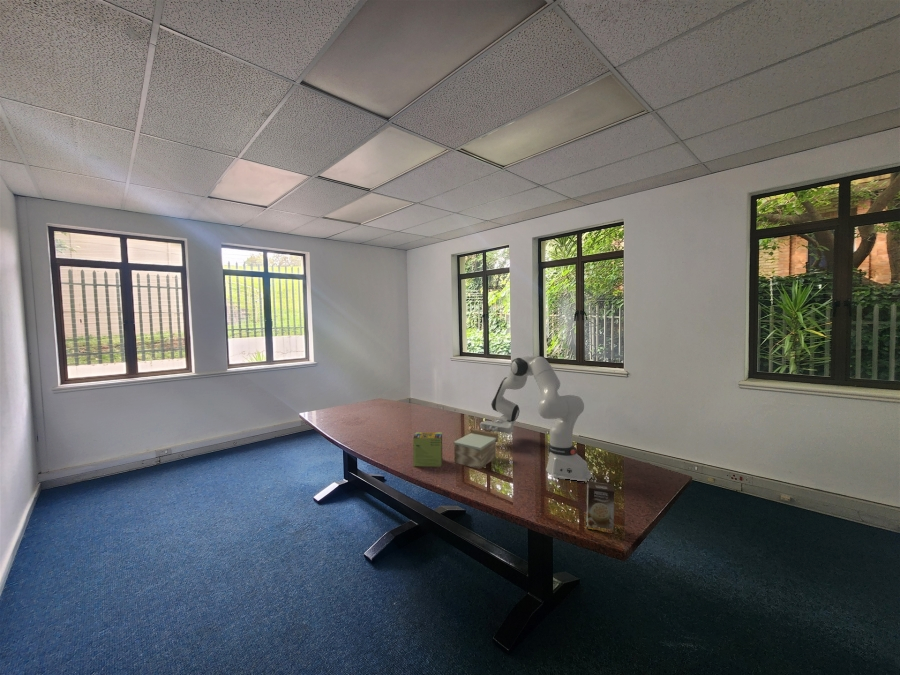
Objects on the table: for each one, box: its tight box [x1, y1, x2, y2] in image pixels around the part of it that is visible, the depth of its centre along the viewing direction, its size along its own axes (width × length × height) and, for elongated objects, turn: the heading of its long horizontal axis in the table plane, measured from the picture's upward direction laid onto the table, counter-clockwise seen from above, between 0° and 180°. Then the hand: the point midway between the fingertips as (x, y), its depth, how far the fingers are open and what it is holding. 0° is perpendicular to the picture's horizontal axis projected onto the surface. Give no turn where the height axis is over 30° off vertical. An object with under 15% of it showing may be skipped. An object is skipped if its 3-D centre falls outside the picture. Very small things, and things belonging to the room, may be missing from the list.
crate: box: [453, 441, 497, 470], centre depth 199 cm, size 16×18×10 cm
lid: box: [453, 428, 499, 450], centre depth 199 cm, size 17×21×4 cm
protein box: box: [412, 431, 443, 467], centre depth 196 cm, size 10×15×16 cm
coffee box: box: [585, 480, 615, 531], centre depth 134 cm, size 9×6×16 cm
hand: (490, 430), depth 215 cm, fingers closed
